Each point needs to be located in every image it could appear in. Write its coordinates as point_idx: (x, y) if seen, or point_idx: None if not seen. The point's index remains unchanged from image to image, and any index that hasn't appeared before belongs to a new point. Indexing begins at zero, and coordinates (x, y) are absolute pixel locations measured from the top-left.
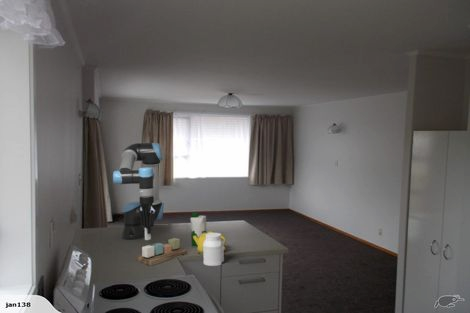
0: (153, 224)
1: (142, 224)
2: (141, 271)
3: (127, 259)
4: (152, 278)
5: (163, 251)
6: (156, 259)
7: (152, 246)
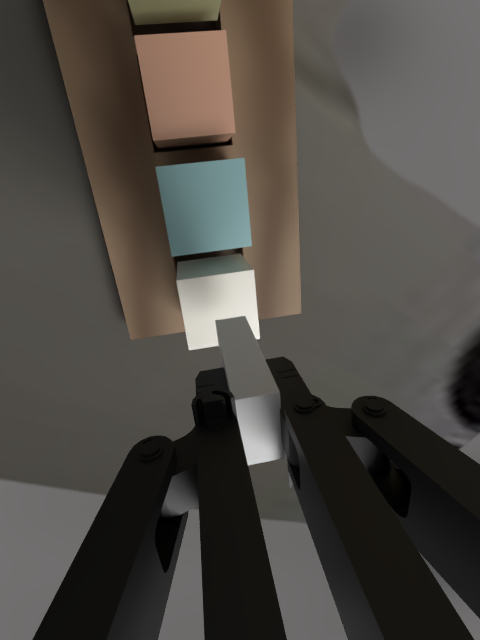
0: (415, 423)
1: (178, 519)
2: (318, 371)
3: (74, 352)
4: (426, 370)
5: (205, 141)
6: (296, 270)
7: (242, 281)
